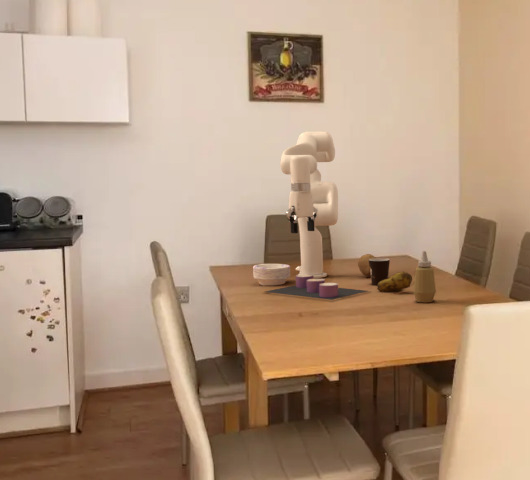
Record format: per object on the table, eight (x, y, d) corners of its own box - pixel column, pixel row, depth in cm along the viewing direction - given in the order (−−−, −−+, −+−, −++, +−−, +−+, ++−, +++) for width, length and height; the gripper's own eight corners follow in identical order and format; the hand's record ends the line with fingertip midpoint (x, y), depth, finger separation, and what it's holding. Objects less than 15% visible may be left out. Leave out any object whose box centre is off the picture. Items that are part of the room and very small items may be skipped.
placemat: (264, 293, 300) (264, 291, 299) (302, 285, 317) (302, 283, 317) (331, 301, 280) (331, 299, 280) (368, 292, 298) (368, 290, 298)
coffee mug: (387, 285, 312) (387, 261, 310) (367, 285, 314) (366, 260, 312) (393, 281, 323) (393, 257, 321) (373, 281, 325) (373, 257, 323)
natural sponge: (369, 274, 343) (369, 252, 341) (383, 276, 337) (383, 253, 335) (354, 277, 337) (353, 254, 335) (368, 279, 331) (367, 255, 328)
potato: (382, 290, 303) (382, 269, 301) (414, 291, 299) (414, 270, 297) (375, 293, 295) (375, 272, 293) (408, 295, 291) (407, 273, 289)
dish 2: (315, 296, 287) (314, 284, 286) (327, 293, 293) (327, 282, 292) (330, 298, 283) (329, 286, 282) (342, 295, 289) (342, 283, 288)
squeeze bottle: (421, 298, 283) (420, 249, 279) (440, 300, 278) (440, 250, 274) (409, 302, 276) (408, 251, 272) (428, 304, 272) (427, 253, 268)
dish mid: (302, 291, 298) (302, 280, 297) (315, 289, 303) (314, 277, 302) (317, 293, 294) (316, 281, 293) (329, 290, 299) (328, 279, 298)
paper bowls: (298, 284, 320) (297, 264, 318) (269, 288, 309) (268, 269, 308) (275, 280, 330) (274, 262, 328) (246, 285, 319) (245, 265, 318)
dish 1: (292, 287, 309) (291, 276, 308) (304, 284, 315) (303, 273, 314) (305, 288, 305) (305, 277, 304) (317, 286, 311) (317, 275, 310)
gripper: (308, 187, 310) (310, 229, 314) (278, 188, 297) (280, 233, 301) (322, 187, 306) (324, 230, 310) (293, 188, 292) (295, 234, 296)
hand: (302, 232), depth 305 cm, fingers open, 9 cm apart
